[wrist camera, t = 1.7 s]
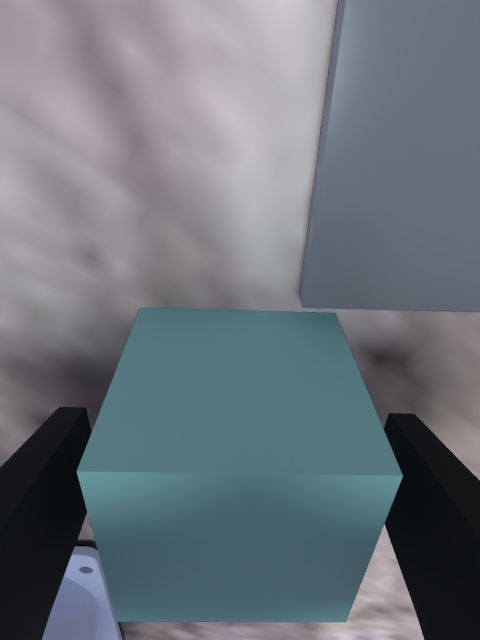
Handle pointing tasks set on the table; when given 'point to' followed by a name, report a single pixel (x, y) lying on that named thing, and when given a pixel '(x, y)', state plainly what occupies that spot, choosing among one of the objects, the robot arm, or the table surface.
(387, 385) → the table surface
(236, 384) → the teal cube
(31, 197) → the table surface
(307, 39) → the table surface
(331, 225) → the slate coaster
